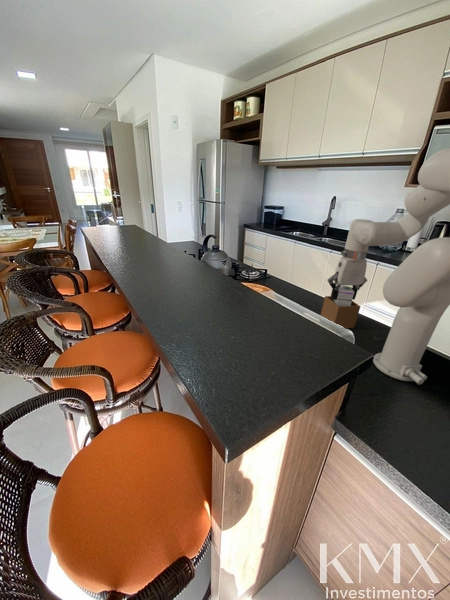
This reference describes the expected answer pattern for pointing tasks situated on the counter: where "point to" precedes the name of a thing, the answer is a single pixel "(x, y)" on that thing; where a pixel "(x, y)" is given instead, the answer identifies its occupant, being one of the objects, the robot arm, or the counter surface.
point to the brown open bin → (340, 312)
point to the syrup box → (344, 296)
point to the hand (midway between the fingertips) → (342, 298)
